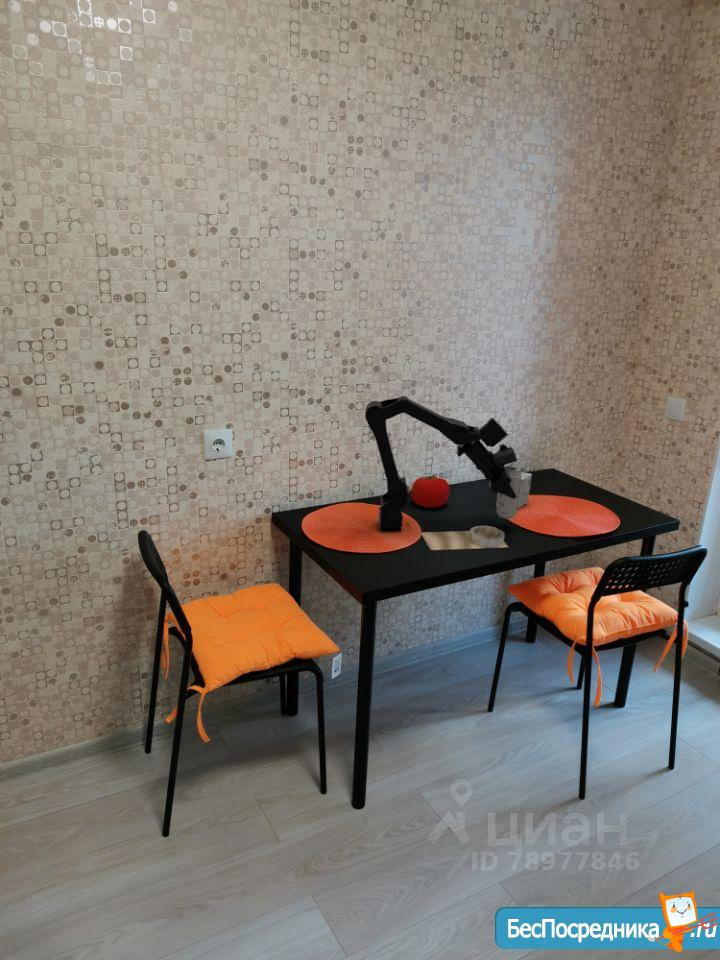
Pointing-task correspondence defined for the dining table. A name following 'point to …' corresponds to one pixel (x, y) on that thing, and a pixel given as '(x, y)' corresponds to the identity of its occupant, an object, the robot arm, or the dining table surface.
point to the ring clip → (486, 541)
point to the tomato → (430, 491)
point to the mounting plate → (452, 540)
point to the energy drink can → (508, 504)
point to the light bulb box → (523, 489)
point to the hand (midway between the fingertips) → (513, 493)
